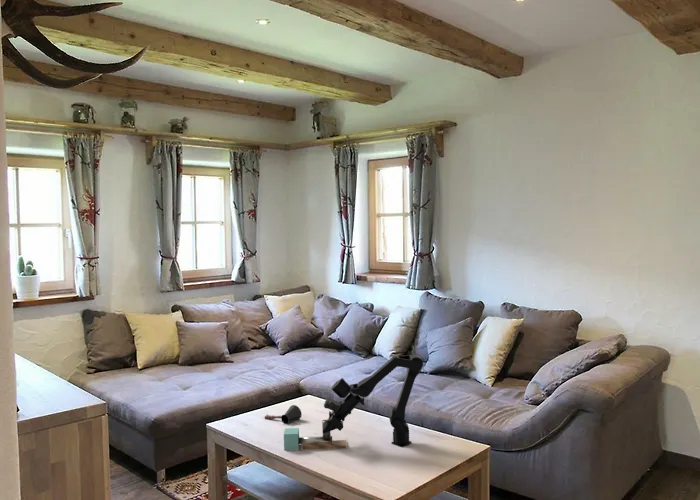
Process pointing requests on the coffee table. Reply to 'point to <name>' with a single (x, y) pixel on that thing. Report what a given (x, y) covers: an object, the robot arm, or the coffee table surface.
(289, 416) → the black handbell
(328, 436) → the slip rod
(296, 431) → the socket block
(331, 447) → the guide
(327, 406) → the robot arm
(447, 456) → the coffee table surface
